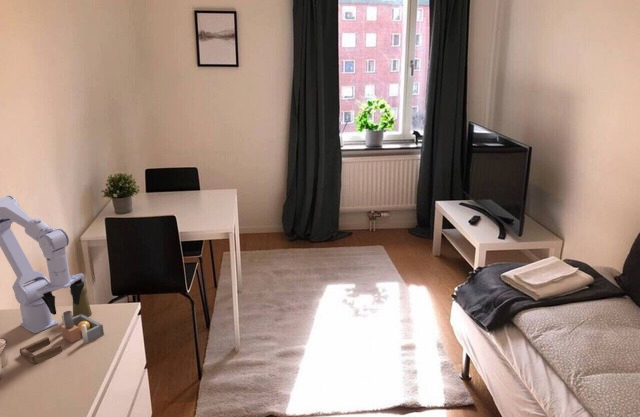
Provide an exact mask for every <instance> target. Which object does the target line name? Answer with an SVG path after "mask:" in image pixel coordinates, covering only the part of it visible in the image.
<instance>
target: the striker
mask: <svg viewBox="0 0 640 417" xmlns="http://www.w3.org/2000/svg"><path fill="white" fill-rule="evenodd" d="M62 314H63V315H64V321H65V325H63V324H62V326H60V329H61V334H62V338H63V339H64V340H66V341H68V342H69V343H74V342H76V341H79V340H80V339H81V333H80V332H79V327H77V326H75V325H74V323H73V311H71V310H66V311H64V312H63V313H62Z"/></svg>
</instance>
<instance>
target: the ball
mask: <svg viewBox="0 0 640 417" xmlns="http://www.w3.org/2000/svg"><path fill="white" fill-rule="evenodd" d="M83 324H85V325H86V329H87V330H89V329H90V328H91V325H90V323H89V322H87V321H82V322H80V323H79V324H78V326H77V327H79V332H80V334H82V329H81V325H83Z"/></svg>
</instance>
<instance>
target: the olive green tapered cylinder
mask: <svg viewBox="0 0 640 417" xmlns="http://www.w3.org/2000/svg"><path fill="white" fill-rule="evenodd" d="M69 291H70V295H71V296H72V292H71V289H70V290H69ZM87 293H88V288H87V286H86V285H85V284H84V287H83V289H82V292H81V295H80V301H79V305H76V304H74V302H73V301H72V317H75V316H77V315H80V314H83V315H85V316H86V317H88V318H90V317H91V316H92V315H93V312H92V309H91V306H90V302H89V299H88V296H87Z"/></svg>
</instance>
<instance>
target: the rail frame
mask: <svg viewBox="0 0 640 417" xmlns="http://www.w3.org/2000/svg"><path fill="white" fill-rule="evenodd" d="M50 344H51V341H50V338H49V337H48V336H46V337H44V338H41V339H39V340H37V341H35V342H33V343H30V344H28V345H26V346H24V347H22V348H19V354H20V356H22V357H23V358H24V359H26V360H27V361H29V362H30V363H32V364H33V365H37V364H38V363H41V362H43V361H45V360H47V359H49V358H51V357H53V356H56V355H57V354H59V353H61V352H63V347H62V345H61V344H57V345H55V346H52V347H50V348H48V349H46V350H43V351H42V352H40V353H38V354H33V352H35V351H37V350H39V349H42V348H44V347H46V346H48V345H50Z"/></svg>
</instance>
